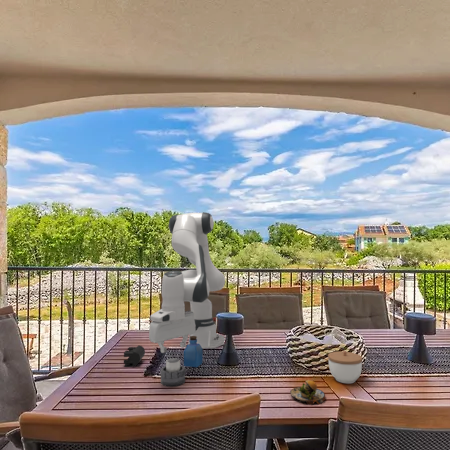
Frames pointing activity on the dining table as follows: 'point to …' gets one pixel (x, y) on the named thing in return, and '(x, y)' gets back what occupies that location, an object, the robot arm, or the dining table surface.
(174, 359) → the cap
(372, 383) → the dining table surface
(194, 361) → the perfume bottle
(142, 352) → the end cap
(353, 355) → the lidded bowl
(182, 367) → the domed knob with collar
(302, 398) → the burger
